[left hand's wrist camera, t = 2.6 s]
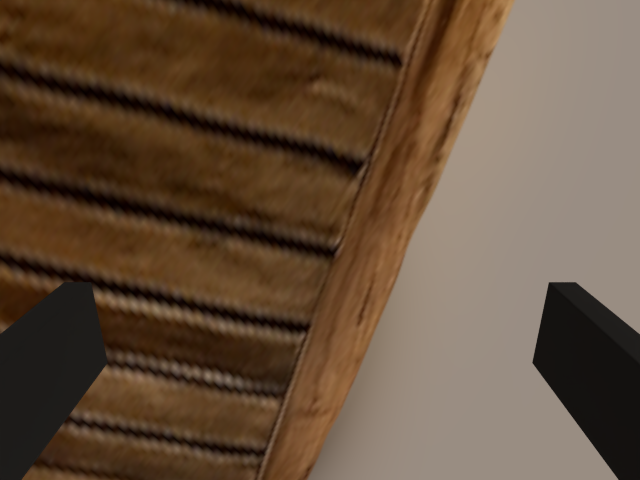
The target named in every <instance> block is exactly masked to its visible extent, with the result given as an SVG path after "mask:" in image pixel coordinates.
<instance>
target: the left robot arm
mask: <svg viewBox="0 0 640 480" xmlns="http://www.w3.org/2000/svg"><path fill="white" fill-rule="evenodd" d="M106 364H107V358H106V353H105V348H104V343H103V338H102V333H101V328H100V324H99V319H98V314H97V309H96V304H95V299H94V294H93V290H92V285H91V282H64V283H63V284H62V285H60V286H59V287H58V288H57V289H56V290H54V291H53V292H52V293H51V294H49V295H48V296H47V297H46V298H44V299H43V300H42V301H41V302H40V303H38V304H37V305H36V306H35V307H33V308H32V309H31V310H30V311H28V312H27V313H26V314H25V315H24V316H22V317H21V318H20V319H19V320H17V321H16V322H15V323H14V324H12V325H11V326H10V327H9V328H8V329H6V330H5V331H4V332H3V333H1V334H0V480H22V478H23V477H24V475H25V474H26V473H27V471H28V470H29V469H30V467H31V466H32V465H33V463H34V462H35V461H36V459H37V458H38V456H39V455H40V454H41V452H42V451H43V450H44V448H45V447H46V446H47V444H48V443H49V442H50V440H51V439H52V437H53V436H54V435H55V433H56V432H57V431H58V429H59V428H60V427H61V425H62V424H63V423H64V421H65V420H66V418H67V417H68V416H69V414H70V413H71V412H72V410H73V409H74V408H75V406H76V405H77V404H78V402H79V401H80V400H81V398H82V397H83V395H84V394H85V393H86V391H87V390H88V389H89V387H90V386H91V385H92V383H93V382H94V381H95V379H96V378H97V376H98V375H99V374H100V372H101V371H102V370H103V368H104V367H105V366H106ZM533 364H534V366H535V367H536V368H537V370H538V371H539V372H540V374H541V375H542V376H543V378H544V379H545V381H546V382H547V383H548V385H549V386H550V387H551V389H552V390H553V391H554V393H555V394H556V395H557V397H558V398H559V400H560V401H561V402H562V403H563V405H564V406H565V408H566V409H567V410H568V412H569V413H570V414H571V416H572V417H573V418H574V420H575V421H576V423H577V424H578V425H579V427H580V428H581V429H582V431H583V432H584V433H585V435H586V436H587V437H588V439H589V440H590V442H591V443H592V444H593V446H594V447H595V448H596V450H597V451H598V452H599V454H600V455H601V456H602V458H603V459H604V460H605V462H606V463H607V465H608V466H609V467H610V469H611V470H612V471H613V473H614V474H615V475H616V477H617V478H618V480H640V334H639V333H637V332H636V331H635V330H634V329H632V328H631V327H630V326H629V325H628V324H626V323H625V322H624V321H623V320H621V319H620V318H619V317H618V316H616V315H615V314H614V313H613V312H612V311H610V310H609V309H608V308H607V307H605V306H604V305H603V304H602V303H600V302H599V301H598V300H597V299H596V298H594V297H593V296H592V295H591V294H589V293H588V292H587V291H586V290H584V289H583V288H582V287H581V286H579V285H578V284H577V283H576V282H549V285H548V290H547V294H546V299H545V304H544V309H543V314H542V319H541V324H540V328H539V333H538V338H537V343H536V348H535V353H534V358H533Z"/></svg>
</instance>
